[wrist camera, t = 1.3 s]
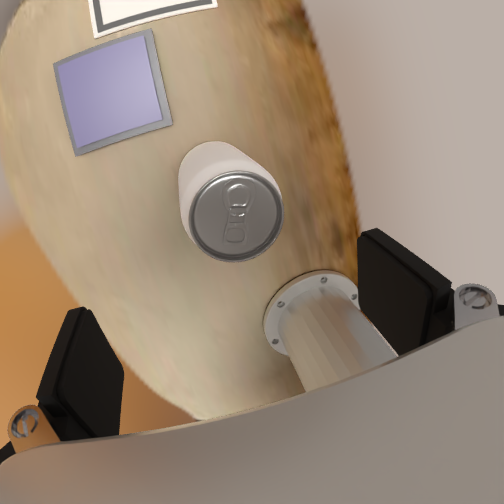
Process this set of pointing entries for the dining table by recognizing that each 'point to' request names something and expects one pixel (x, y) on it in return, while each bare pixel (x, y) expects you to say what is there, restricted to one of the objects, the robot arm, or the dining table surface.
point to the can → (228, 202)
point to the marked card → (138, 12)
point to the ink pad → (112, 92)
